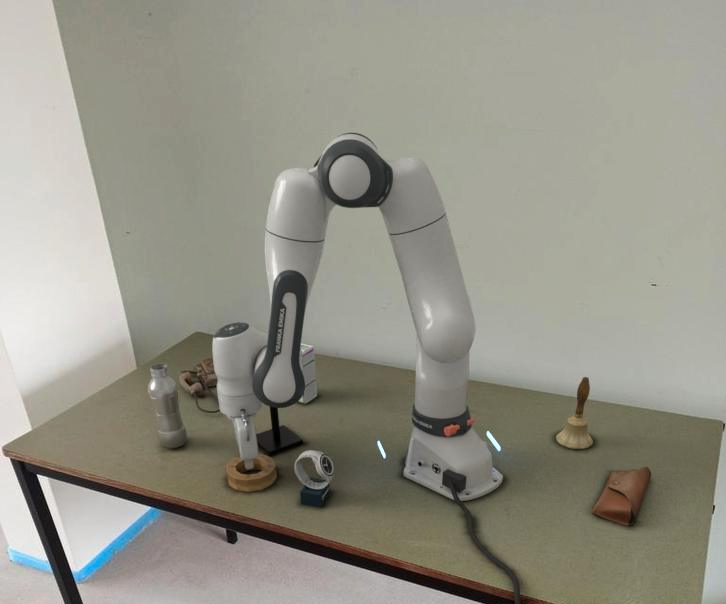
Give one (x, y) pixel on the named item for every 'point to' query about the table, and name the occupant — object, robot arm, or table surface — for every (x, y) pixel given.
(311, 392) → the syrup box
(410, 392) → the table surface
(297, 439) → the stand
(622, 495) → the sunglasses case
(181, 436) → the plastic bottle
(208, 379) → the telephone
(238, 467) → the ring
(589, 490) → the table surface
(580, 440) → the hand bell
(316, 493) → the watch
